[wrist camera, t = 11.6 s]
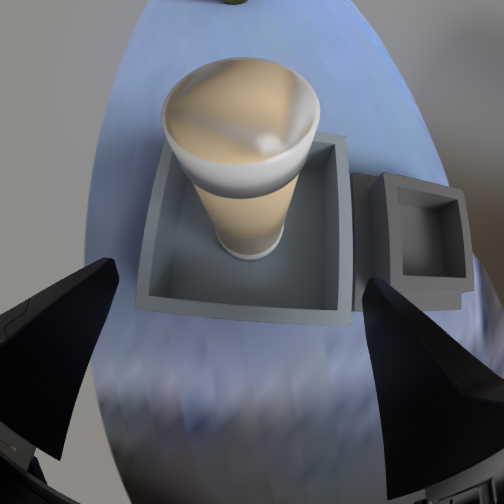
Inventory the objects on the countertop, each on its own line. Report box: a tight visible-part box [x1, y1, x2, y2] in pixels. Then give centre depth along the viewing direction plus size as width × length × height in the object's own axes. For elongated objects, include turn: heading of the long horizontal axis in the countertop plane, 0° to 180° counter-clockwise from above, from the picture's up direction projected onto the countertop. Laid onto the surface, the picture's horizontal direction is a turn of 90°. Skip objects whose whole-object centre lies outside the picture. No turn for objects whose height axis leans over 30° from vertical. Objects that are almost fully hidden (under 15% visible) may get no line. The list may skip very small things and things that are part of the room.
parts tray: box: [134, 132, 353, 325], centre depth 15 cm, size 10×10×4 cm
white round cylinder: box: [161, 57, 320, 262], centre depth 11 cm, size 4×4×11 cm
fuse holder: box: [350, 172, 474, 311], centre depth 15 cm, size 9×9×4 cm
